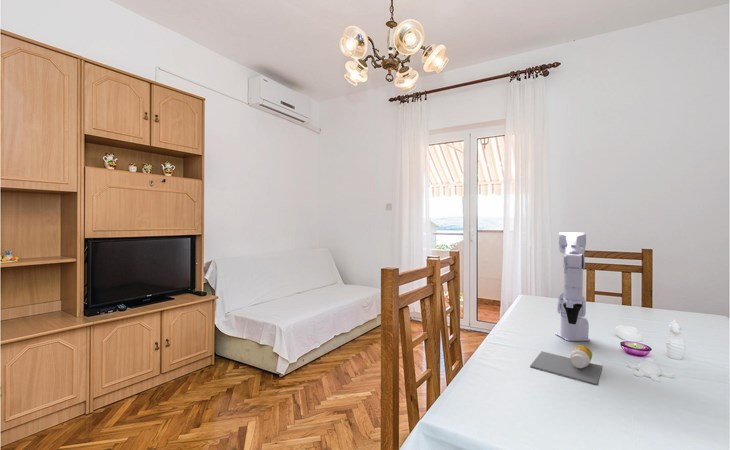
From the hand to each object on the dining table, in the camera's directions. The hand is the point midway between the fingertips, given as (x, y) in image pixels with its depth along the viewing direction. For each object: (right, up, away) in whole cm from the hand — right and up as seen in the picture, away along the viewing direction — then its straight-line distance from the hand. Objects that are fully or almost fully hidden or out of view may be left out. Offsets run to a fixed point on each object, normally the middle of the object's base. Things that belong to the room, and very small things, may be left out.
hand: (572, 323), depth 121 cm
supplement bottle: (-1, -7, -8) cm, 11 cm away
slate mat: (-10, -11, -13) cm, 19 cm away
